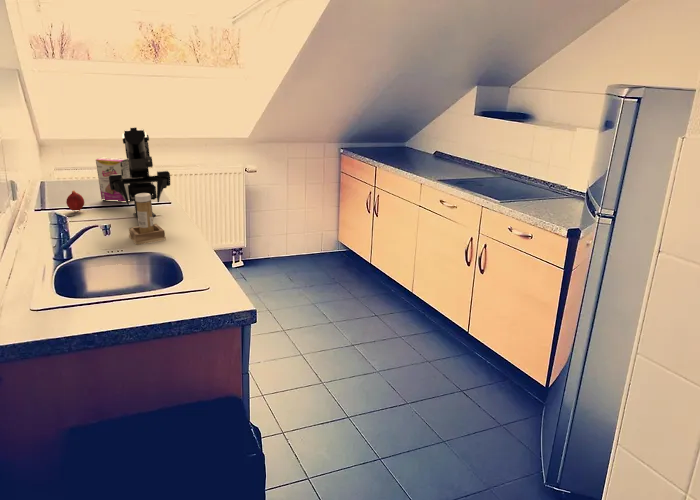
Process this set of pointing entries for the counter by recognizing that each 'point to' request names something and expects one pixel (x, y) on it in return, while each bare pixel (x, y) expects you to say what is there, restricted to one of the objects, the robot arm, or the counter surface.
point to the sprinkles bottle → (144, 212)
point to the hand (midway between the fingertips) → (143, 202)
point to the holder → (147, 235)
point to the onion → (75, 201)
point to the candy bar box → (108, 168)
